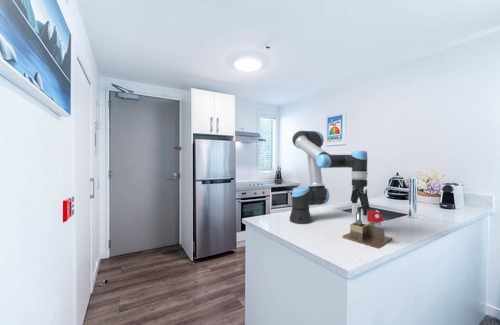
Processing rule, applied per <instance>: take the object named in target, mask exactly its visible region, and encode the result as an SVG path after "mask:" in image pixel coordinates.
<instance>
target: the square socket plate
mask: <svg viewBox="0 0 500 325" xmlns="http://www.w3.org/2000/svg"><path fill="white" fill-rule="evenodd" d="M341 238H342V239H346V240H348V241H352V242H355V243H358V244H362V245H366V246H369V247H373V248H375V249H379V248H381V247H383V246H384V245H386V244H388V243H389V242H391V241H393V237H390V236H387V235H385V228H383V227H381V228H380V227H375V222H371V223H369V224H366V223H362V227H361V226H357V225H356V221H355V222H353V223H351V224H349V232H348V233H345V234H344V235H342V237H341Z"/></svg>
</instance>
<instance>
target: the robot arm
mask: <svg viewBox="0 0 500 325" xmlns="http://www.w3.org/2000/svg"><path fill="white" fill-rule="evenodd" d="M324 140H325V139H324V135H323V133H321V132H320V131H318V130H317V131H316V130H298V131H297V132H295V133H294V134H293V136H292V144H293V145H294V146H295V148H297V149H301V150H302V151H303V152H304V153H305V154H306V155H307V163H308V164H307V165H308V175H309V184H308V185H307V186H297V187H294V188H293V189H292V191H291V212H290V215H289V221H290V222H291V223H293V224H298V225H299V224H300V225H305V224H310V223H312V222H313V221H312V220H313V218H312V215H311V212H310V206H320V205H326V204H327V203H328V201H329V199H330V191H329V189H328V188H327V187H326V186H325V185H326V184H324V183H323V176H322V174H323V173H322V168H323V169H328V168H329V169H331V168H333V169H334V168H338V169H339V168H351V178H352V179H351V186H352V191H351V196H350V202H351V214H352V215H354V216H356V212H358V203H359V202H360V205H361V206H360V212H361V221H362V222H363V223H364V222H366V223H367V212H368V210H369V209H370V208H371V207H370V203H369V198H368V197H369V196H368V189H365V188H367V187H368V175H369V173H368V159H369V158H368V151H367V150H352V151H351V154H330V153H329V152H327V151H326V150H324V149H322V146H323V145H324V142H325V141H324ZM358 200H359V201H358Z"/></svg>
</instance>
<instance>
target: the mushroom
mask: <svg viewBox="0 0 500 325" xmlns="http://www.w3.org/2000/svg"><path fill="white" fill-rule="evenodd" d="M384 221H385V220H384V217H383V214H381V213H380V211H379V210H367V222H366V223H365V224H369V223H371V222H375V227H380V228H382V227H381V226H382V223H383V222H384Z"/></svg>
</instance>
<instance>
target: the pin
mask: <svg viewBox="0 0 500 325" xmlns="http://www.w3.org/2000/svg"><path fill="white" fill-rule="evenodd" d="M355 222H356V225H357V226H361V227H362V224H363V221H361V211H357V212H356V215H355Z"/></svg>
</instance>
